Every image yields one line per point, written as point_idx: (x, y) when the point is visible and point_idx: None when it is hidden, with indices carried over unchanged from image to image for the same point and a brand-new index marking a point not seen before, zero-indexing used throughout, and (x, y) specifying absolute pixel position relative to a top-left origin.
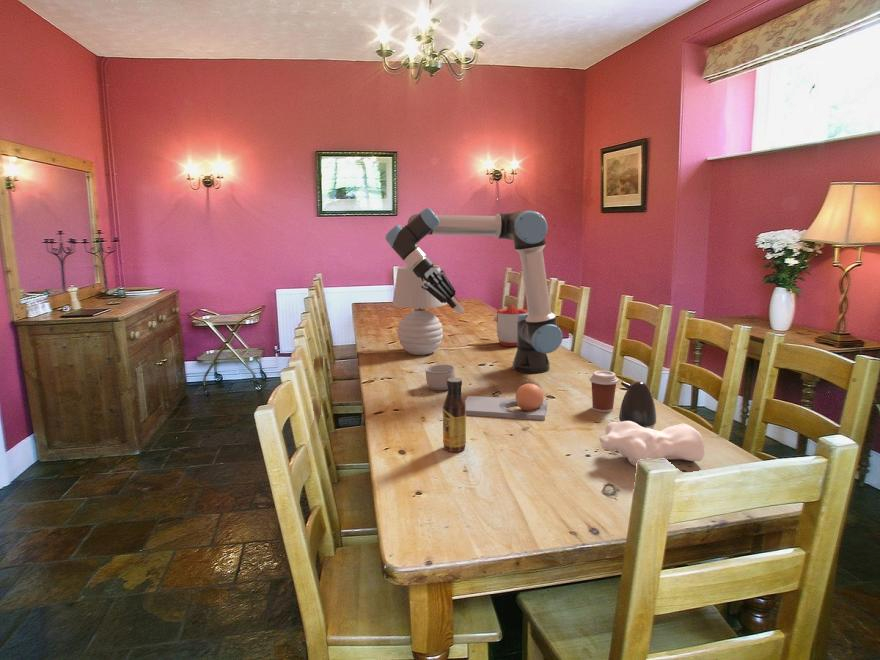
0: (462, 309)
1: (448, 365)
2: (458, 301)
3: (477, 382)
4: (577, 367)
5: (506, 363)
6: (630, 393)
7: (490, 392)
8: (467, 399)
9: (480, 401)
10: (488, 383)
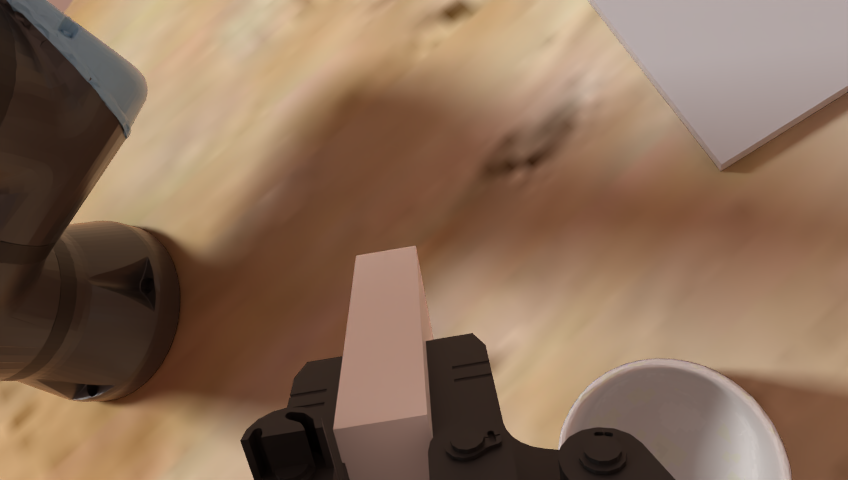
0: (400, 262)
1: None
2: (305, 379)
3: None
4: None
5: (94, 466)
6: None
7: (530, 184)
8: (776, 120)
9: (748, 48)
10: None
